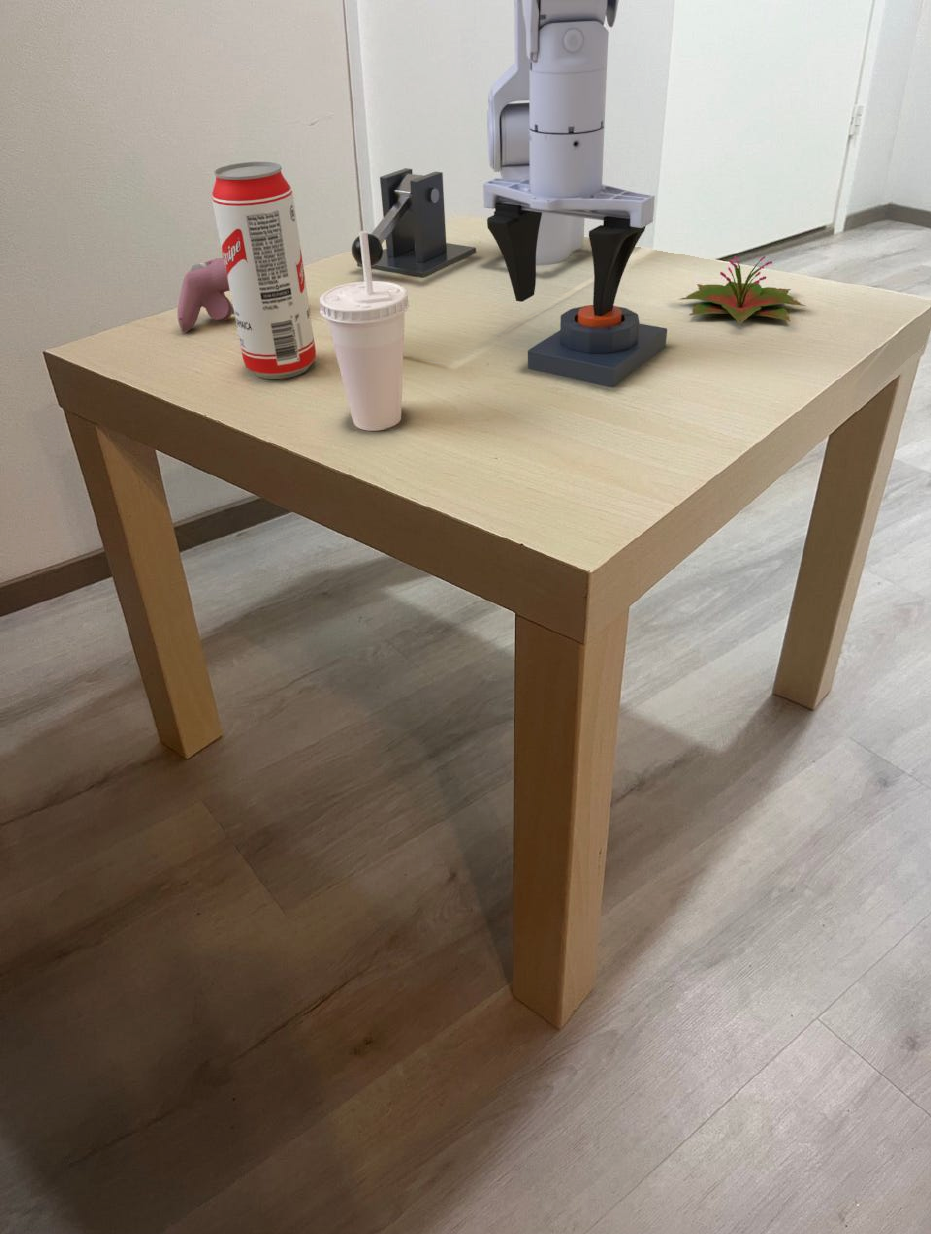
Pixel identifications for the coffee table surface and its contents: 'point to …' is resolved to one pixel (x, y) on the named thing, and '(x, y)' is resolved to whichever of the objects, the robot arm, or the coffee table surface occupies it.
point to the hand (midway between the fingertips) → (563, 305)
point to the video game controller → (204, 293)
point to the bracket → (418, 228)
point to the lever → (386, 223)
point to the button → (599, 317)
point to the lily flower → (742, 297)
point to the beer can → (264, 268)
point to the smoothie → (369, 344)
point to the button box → (597, 349)
